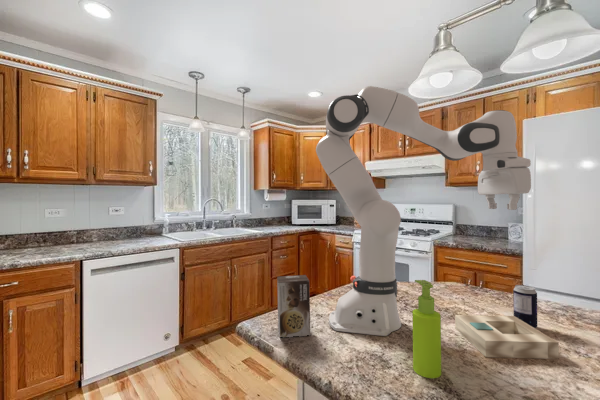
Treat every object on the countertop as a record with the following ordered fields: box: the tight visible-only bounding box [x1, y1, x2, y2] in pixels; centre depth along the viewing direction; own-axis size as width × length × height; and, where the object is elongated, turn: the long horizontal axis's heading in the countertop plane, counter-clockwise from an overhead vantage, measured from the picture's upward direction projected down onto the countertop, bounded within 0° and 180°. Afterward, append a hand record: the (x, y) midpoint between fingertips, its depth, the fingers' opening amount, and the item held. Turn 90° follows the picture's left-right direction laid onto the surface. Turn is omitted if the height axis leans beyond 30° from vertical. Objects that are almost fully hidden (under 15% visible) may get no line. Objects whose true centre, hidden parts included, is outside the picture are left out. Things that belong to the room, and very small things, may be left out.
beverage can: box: [512, 284, 538, 329], centre depth 87 cm, size 6×6×12 cm
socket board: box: [454, 314, 560, 360], centre depth 78 cm, size 17×16×4 cm
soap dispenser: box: [412, 279, 442, 379], centre depth 66 cm, size 6×7×20 cm
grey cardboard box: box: [276, 274, 312, 338], centre depth 85 cm, size 9×6×16 cm
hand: (501, 209), depth 88 cm, fingers open, 8 cm apart
